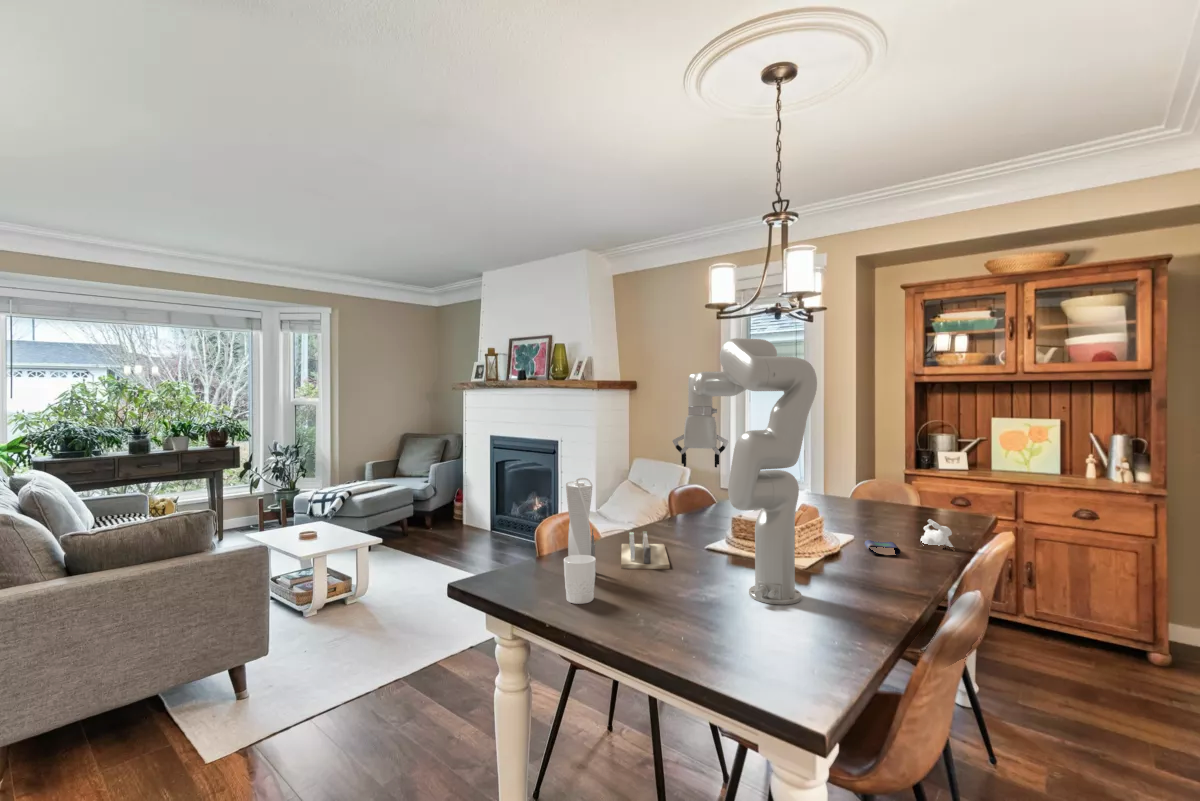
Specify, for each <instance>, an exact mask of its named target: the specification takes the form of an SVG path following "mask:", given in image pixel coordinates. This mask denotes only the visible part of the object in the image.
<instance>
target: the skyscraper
mask: <svg viewBox="0 0 1200 801" xmlns="http://www.w3.org/2000/svg"><path fill="white" fill-rule="evenodd" d="M585 481H587V482H588V483H589V484H586V483H585ZM593 487H594V486H593V484H592V482H591V481H590V479H588V478H586V477H579V478H577V479H576V480H575V481H569V482H567V483H566V484H565V489H566V499H567V501H566V502H567V511H568V518H569V524H568V539H567V540H568V541H567V544H568V545H567V551H568V552H567V554H568V556H572V555H589V556H593V557H595V558H596V544H595V535H594V528H592V529H591V526H590V524H591V523H590V520H589V519H590V518H589V516H590V512H591V504H592V503H591V502H592V495H593ZM568 556H567V557H568ZM596 577H597V562H596V563H595V580H596V579H597V578H596Z"/></svg>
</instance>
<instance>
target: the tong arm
mask: <svg viewBox="0 0 1200 801" xmlns="http://www.w3.org/2000/svg"><path fill="white" fill-rule="evenodd" d="M628 536H629V539H628V540H629V543H628V544H629V545H630V556H631V561H635V544H636V543H635V533H634V532H633V531H632V532H631V531H630V532H629V535H628Z"/></svg>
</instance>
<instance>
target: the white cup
mask: <svg viewBox="0 0 1200 801" xmlns="http://www.w3.org/2000/svg"><path fill="white" fill-rule="evenodd" d="M596 560H597V559H596V556H595V557H593V556H589V555H572V556H566V557H564V558H563V571H564V572H563V574H564V584H565V585H564V587H565V598H566V601H567V602H568V603H570V604H571V603H572V604H575V605H576V604H577V605H578V604H579V605H582V604H588V603H591V602H592V601H593V600H594V599H595V598H594V597H595V585H596V583H595V582H596V579H595V563H596V564H597V561H596Z"/></svg>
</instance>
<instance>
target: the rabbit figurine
mask: <svg viewBox="0 0 1200 801" xmlns="http://www.w3.org/2000/svg"><path fill="white" fill-rule="evenodd" d="M927 523H928V524H927V525H925V526H923V531H925V532H924V533H923V535H921V536H920V537H921V538H920V542H921V541H922V543H924V544H928V545H938V546H940V545H943V546H944V545H945V547H947V546H949V547H954V546H953V544H952V542H951V541H950V540H949V537H950V536H952V534H953V532H952V530H951V528H950V527H948V526H944V525H941V524H939V523H938V522H936V521H934V520H933V519H931V518H929V519H928V520H927ZM930 526H932V527H933V528H934V529H931V528H930ZM922 543H921V544H922Z"/></svg>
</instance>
